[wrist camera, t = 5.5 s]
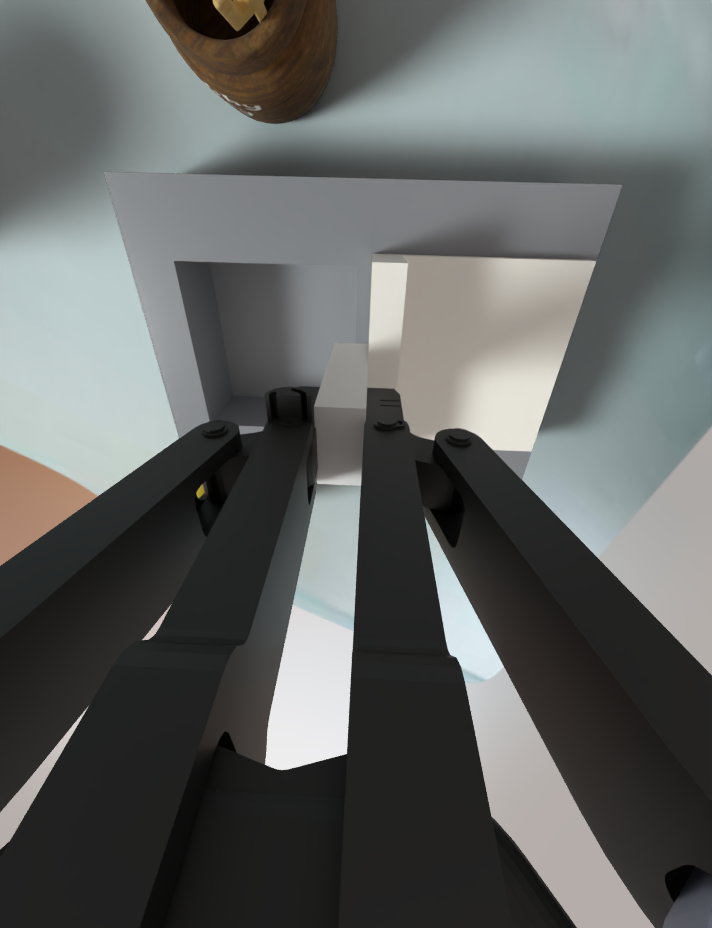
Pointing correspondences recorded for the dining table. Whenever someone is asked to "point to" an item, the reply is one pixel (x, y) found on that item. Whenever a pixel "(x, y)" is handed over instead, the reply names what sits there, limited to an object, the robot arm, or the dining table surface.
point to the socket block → (310, 267)
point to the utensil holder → (256, 50)
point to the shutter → (473, 340)
